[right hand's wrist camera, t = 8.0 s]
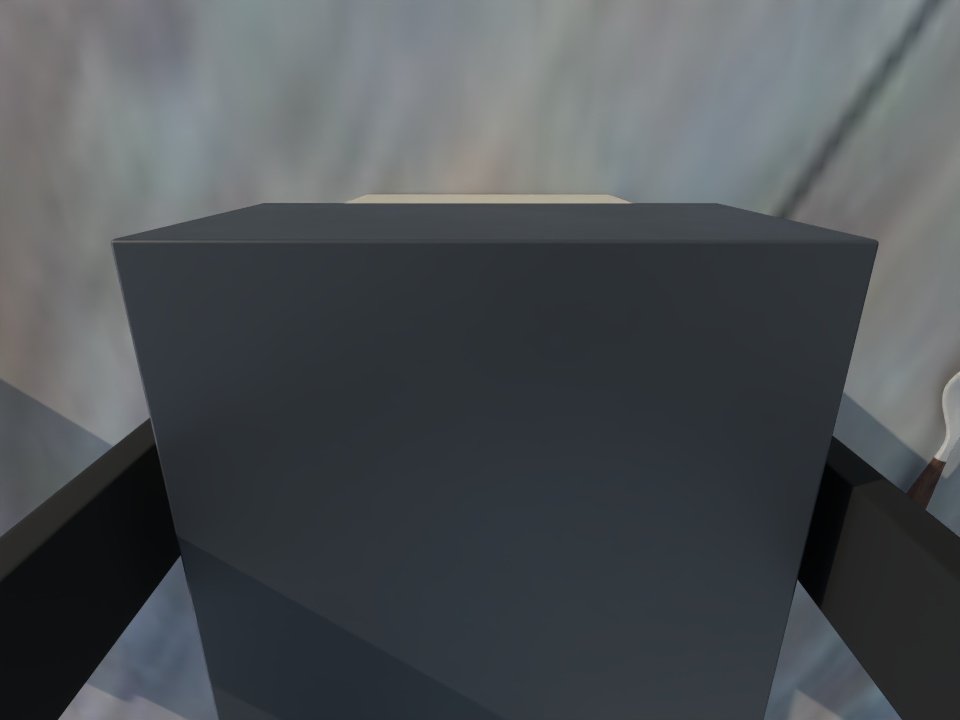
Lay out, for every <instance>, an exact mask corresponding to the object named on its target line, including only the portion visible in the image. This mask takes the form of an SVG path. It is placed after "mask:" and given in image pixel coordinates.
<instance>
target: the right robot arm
mask: <svg viewBox="0 0 960 720" xmlns="http://www.w3.org/2000/svg"><path fill="white" fill-rule="evenodd" d="M180 555H181V553H180V549H179V544H178V540H177V535H176V531H175V526H174V522H173V518H172V513H171V509H170V504H169V500H168V495H167V491H166V486H165V482H164V478H163V473H162V469H161V464H160V460H159V455H158V451H157V446H156V442H155V437H154V433H153V429H152V424H151V420H150V418H149V419H148V420H146V421H145V422H144V423H143V424H141V425H140V426H139V427H138V428H136V429H135V430H134V431H133V432H131V433H130V434H129V435H128V436H126V437H125V438H124V439H123V440H121V441H120V442H119V443H118V444H116V445H115V446H114V447H113V448H111V449H110V450H109V451H108V452H106V453H105V454H104V455H103V456H101V457H100V458H99V459H98V460H96V461H95V462H94V463H93V464H91V465H90V466H89V467H88V468H86V469H85V470H84V471H83V472H81V473H80V474H79V475H78V476H76V477H75V478H74V479H73V480H71V481H70V482H69V483H68V484H66V485H65V486H64V487H63V488H61V489H60V490H59V491H58V492H56V493H55V494H54V495H53V496H51V497H50V498H49V499H48V500H46V501H45V502H44V503H43V504H41V505H40V506H39V507H38V508H36V509H35V510H34V511H33V512H31V513H30V514H29V515H28V516H26V517H25V518H24V519H23V520H21V521H20V522H19V523H18V524H16V525H15V526H14V527H13V528H11V529H10V530H9V531H8V532H6V533H5V534H4V535H3V536H1V537H0V720H58V719H59V717H60V716H61V715H62V713H63V712H64V711H65V709H66V708H67V707H68V705H69V704H70V703H71V701H72V700H73V699H74V697H75V696H76V695H77V693H78V692H79V691H80V689H81V688H82V687H83V685H84V684H85V683H86V681H87V680H88V679H89V677H90V676H91V674H92V673H93V672H94V670H95V669H96V668H97V666H98V665H99V664H100V662H101V661H102V660H103V658H104V657H105V656H106V654H107V653H108V652H109V650H110V649H111V648H112V646H113V645H114V644H115V642H116V641H117V640H118V638H119V637H120V636H121V634H122V633H123V632H124V630H125V629H126V628H127V626H128V625H129V623H130V622H131V621H132V619H133V618H134V617H135V615H136V614H137V613H138V611H139V610H140V609H141V607H142V606H143V605H144V603H145V602H146V601H147V599H148V598H149V597H150V595H151V594H152V593H153V591H154V590H155V589H156V587H157V586H158V585H159V583H160V582H161V581H162V579H163V578H164V577H165V575H166V574H167V573H168V571H169V570H170V568H171V567H172V566H173V564H174V563H175V562H176V560H177V559H178V558H179V556H180ZM798 581H799V582H800V583H801V585H802V586H803V587H804V589H805V590H806V591H807V593H808V594H809V595H810V597H811V598H812V599H813V601H814V602H815V603H816V605H817V606H818V607H819V609H820V610H821V611H822V613H823V614H824V615H825V617H826V618H827V619H828V621H829V622H830V624H831V625H832V626H833V628H834V629H835V630H836V632H837V633H838V634H839V636H840V637H841V638H842V640H843V641H844V642H845V644H846V645H847V646H848V648H849V649H850V650H851V652H852V653H853V654H854V656H855V657H856V658H857V660H858V661H859V662H860V664H861V665H862V666H863V668H864V669H865V670H866V672H867V673H868V674H869V676H870V677H871V679H872V680H873V681H874V683H875V684H876V685H877V687H878V688H879V689H880V691H881V692H882V693H883V695H884V696H885V697H886V699H887V700H888V701H889V703H890V704H891V705H892V707H893V708H894V709H895V711H896V712H897V713H898V715H899V716H900V717H901V719H902V720H960V537H959V536H957V535H956V534H955V533H954V532H952V531H951V530H950V529H949V528H947V527H946V526H945V525H944V524H942V523H941V522H940V521H939V520H937V519H936V518H935V517H934V516H932V515H931V514H930V513H929V512H927V511H926V510H925V509H924V508H922V507H921V506H920V505H919V504H917V503H916V502H915V501H914V500H912V499H911V498H910V497H909V496H907V495H906V494H905V493H904V492H902V491H901V490H900V489H899V488H897V487H896V486H895V485H894V484H892V483H891V482H890V481H889V480H887V479H886V478H885V477H884V476H882V475H881V474H880V473H879V472H877V471H876V470H875V469H874V468H872V467H871V466H870V465H869V464H867V463H866V462H865V461H864V460H862V459H861V458H860V457H859V456H857V455H856V454H855V453H854V452H852V451H851V450H850V449H849V448H847V447H846V446H845V445H844V444H842V443H841V442H840V441H839V440H837V439H836V438H835V437H834V436H832V438H831V443H830V447H829V451H828V455H827V459H826V463H825V467H824V471H823V476H822V480H821V484H820V488H819V492H818V496H817V500H816V505H815V509H814V513H813V517H812V521H811V525H810V529H809V533H808V538H807V542H806V546H805V550H804V554H803V558H802V562H801V566H800V571H799V575H798Z"/></svg>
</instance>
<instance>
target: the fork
mask: <svg viewBox="0 0 960 720" xmlns="http://www.w3.org/2000/svg"><path fill="white" fill-rule="evenodd" d="M942 407H943V413H944V418H945V424H946V438H945V441H944V443H943V445H942V446H941V448H940V450H939V451H938V452H937V454H936V455H935V456H934V458H933V459H932V460H931V462H930V463H929V464H928V466H927V467H926V468H925V470H924V471H923V472H922V474H921V475H920V476H919V478H918V479H917V480H916V481H915V483H914V484H913V485H912V487H911V488H910V489H909V491H908V492H907V493H906V495H907V496H909V497H910V498H911V499H912V500H914V501H915V502H916V503H917V504H919V505H920V506H921V507H922V508H924V509H926V507H927V505H928V503H929V500H930V498H931V496H932V493H933V491H934V489H935V486H936V484H937V482H938V480H939V477H940V475H941V473H942V470H943V468H944V466H945V464H946V461H947V459H948V457H949V455H950V453H951V451H952V449H953V447H954V445H955V444H956V442H957V441H958V439H959V438H960V372H958V373H957V374H956V375H955V376H954V377H953V378H952V379H951V380H950V381H949V382H948V383H947V385H946V387H945V389H944V391H943V396H942Z"/></svg>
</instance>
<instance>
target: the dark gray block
mask: <svg viewBox="0 0 960 720" xmlns="http://www.w3.org/2000/svg"><path fill="white" fill-rule="evenodd" d="M111 246H112V251H113V255H114V260H115V264H116V268H117V273H118V277H119V282H120V286H121V291H122V295H123V300H124V304H125V308H126V313H127V317H128V322H129V326H130V331H131V335H132V340H133V344H134V349H135V353H136V357H137V362H138V366H139V371H140V375H141V380H142V384H143V389H144V393H145V397H146V402H147V406H148V411H149V415H150V420H151V424H152V429H153V433H154V437H155V442H156V446H157V451H158V455H159V460H160V464H161V469H162V473H163V478H164V482H165V486H166V491H167V495H168V500H169V504H170V509H171V513H172V518H173V522H174V526H175V531H176V535H177V540H178V544H179V549H180V553H181V558H182V562H183V566H184V571H185V575H186V580H187V584H188V589H189V593H190V598H191V602H192V606H193V611H194V615H195V620H196V624H197V629H198V633H199V638H200V642H201V647H202V651H203V655H204V660H205V664H206V669H207V673H208V678H209V682H210V687H211V691H212V695H213V700H214V704H215V709H216V713H217V718H218V720H763V719H764V715H765V711H766V707H767V703H768V699H769V695H770V690H771V686H772V682H773V678H774V674H775V670H776V666H777V662H778V657H779V653H780V649H781V645H782V641H783V637H784V633H785V628H786V624H787V620H788V616H789V612H790V608H791V604H792V600H793V595H794V591H795V587H796V583H797V579H798V575H799V571H800V566H801V562H802V558H803V554H804V550H805V546H806V542H807V538H808V533H809V529H810V525H811V521H812V517H813V513H814V509H815V505H816V500H817V496H818V492H819V488H820V484H821V480H822V476H823V471H824V467H825V463H826V459H827V455H828V451H829V447H830V443H831V438H832V434H833V430H834V426H835V422H836V418H837V414H838V409H839V405H840V401H841V397H842V393H843V389H844V385H845V381H846V376H847V372H848V368H849V364H850V360H851V356H852V352H853V348H854V343H855V339H856V335H857V331H858V327H859V323H860V319H861V314H862V310H863V306H864V302H865V298H866V294H867V290H868V286H869V281H870V277H871V273H872V269H873V265H874V261H875V257H876V252H877V248H878V241H876V240H874V239H869V238H865V237H861V236H856V235H852V234H848V233H843V232H839V231H835V230H830V229H826V228H821V227H817V226H813V225H808V224H804V223H800V222H795V221H791V220H787V219H782V218H778V217H774V216H769V215H765V214H761V213H756V212H752V211H747V210H743V209H739V208H734V207H730V206H726V205H721V204H717V203H263V204H259V205H255V206H251V207H246V208H242V209H238V210H234V211H230V212H225V213H221V214H217V215H213V216H209V217H205V218H200V219H196V220H192V221H188V222H184V223H179V224H175V225H171V226H167V227H163V228H159V229H154V230H150V231H146V232H142V233H138V234H133V235H129V236H125V237H121V238H117V239H114V240H112V241H111Z"/></svg>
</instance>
